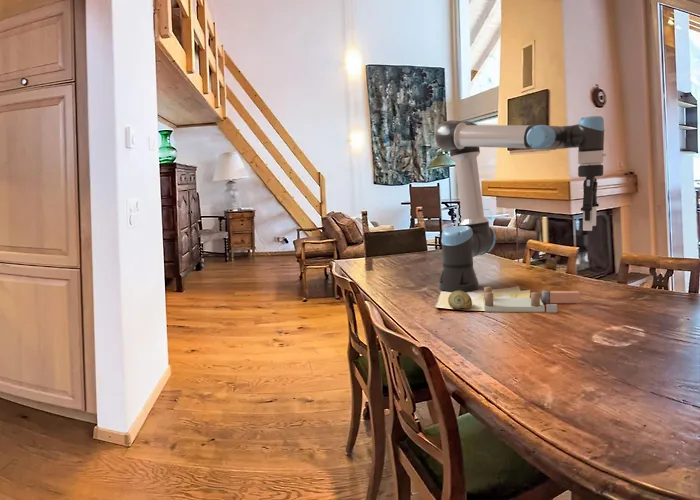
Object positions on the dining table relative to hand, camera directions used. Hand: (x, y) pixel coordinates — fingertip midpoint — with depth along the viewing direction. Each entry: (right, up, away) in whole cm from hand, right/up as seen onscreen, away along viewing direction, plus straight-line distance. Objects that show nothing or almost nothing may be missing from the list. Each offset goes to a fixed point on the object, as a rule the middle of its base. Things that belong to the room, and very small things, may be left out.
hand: (589, 228), depth 164 cm
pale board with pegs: (-26, -26, -7) cm, 38 cm away
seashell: (-44, -27, -2) cm, 52 cm away
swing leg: (-12, -25, -4) cm, 28 cm away
